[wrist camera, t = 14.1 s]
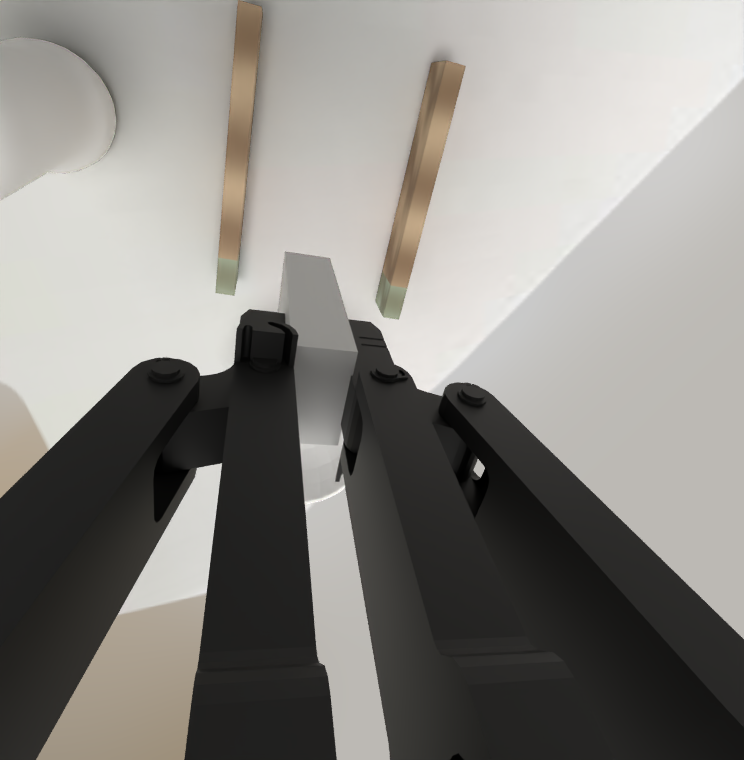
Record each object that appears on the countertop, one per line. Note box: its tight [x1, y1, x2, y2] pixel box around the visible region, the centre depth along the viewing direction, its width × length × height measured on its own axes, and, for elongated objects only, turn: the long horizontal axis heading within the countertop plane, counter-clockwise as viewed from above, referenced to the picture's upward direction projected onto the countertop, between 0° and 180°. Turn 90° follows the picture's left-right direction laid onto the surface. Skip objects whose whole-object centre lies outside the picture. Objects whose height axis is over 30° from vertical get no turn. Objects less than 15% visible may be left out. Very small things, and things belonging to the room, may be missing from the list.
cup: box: [300, 429, 345, 504], centre depth 44 cm, size 11×11×15 cm
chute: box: [216, 0, 466, 319], centre depth 40 cm, size 20×16×4 cm
